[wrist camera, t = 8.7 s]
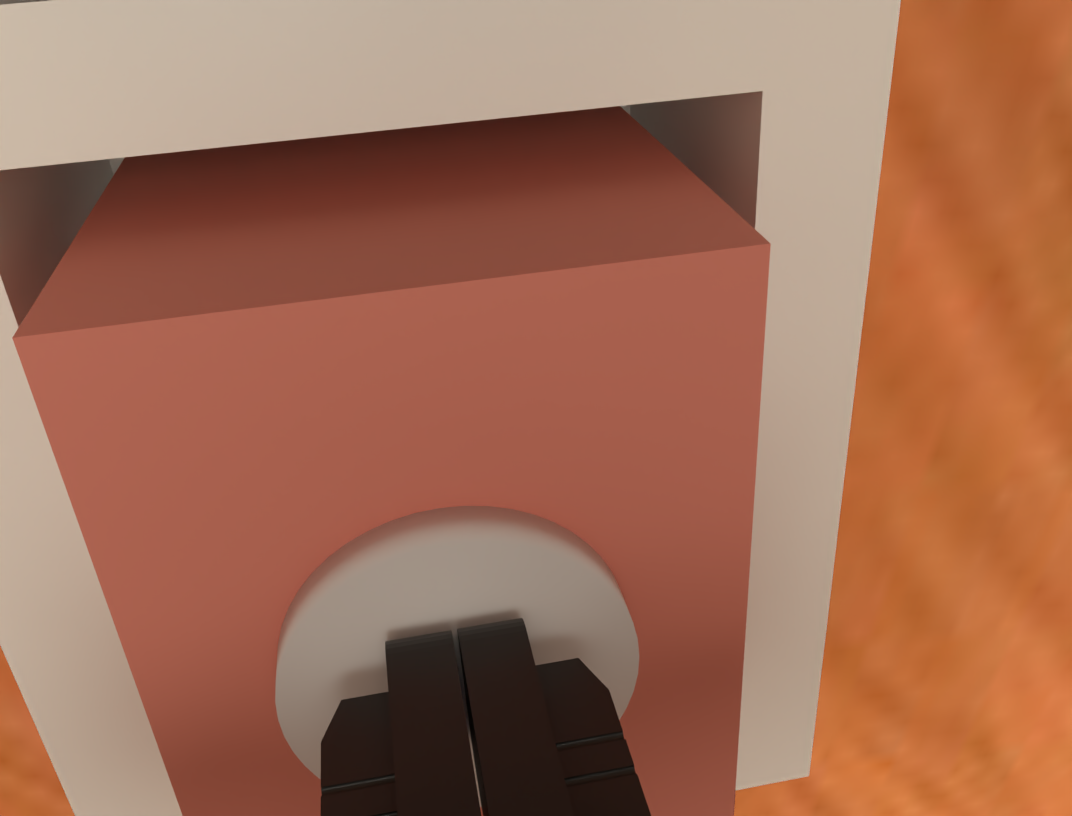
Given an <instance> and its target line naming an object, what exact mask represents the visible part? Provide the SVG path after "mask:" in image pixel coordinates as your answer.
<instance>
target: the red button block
mask: <svg viewBox="0 0 1072 816" xmlns="http://www.w3.org/2000/svg"><path fill="white" fill-rule="evenodd" d="M770 246H771V243H769V242H768V241H767V240H766V239H765V238H764V237H763V236H762V235H761V234H760V233H759V232H757V231H756V230H755V229H754V228H753V227H752V226H751V225H750V224H749V223H748V222H747V221H745V220H744V219H743V218H742V217H741V216H740V215H739V214H738V213H737V212H736V211H734V210H733V209H732V208H731V207H730V206H729V205H728V204H727V203H726V202H725V201H724V200H722V199H721V198H720V197H719V196H718V195H717V194H716V193H715V192H714V191H713V190H711V189H710V188H709V187H708V186H707V185H706V184H705V183H704V182H703V181H702V180H701V179H699V178H698V177H697V176H696V175H695V174H694V173H693V172H692V171H691V170H690V169H688V168H687V167H686V166H685V165H684V164H683V163H682V162H681V161H680V160H679V159H678V158H676V157H675V156H674V155H673V154H672V153H671V152H670V151H669V150H668V149H667V148H666V147H664V146H663V145H662V144H661V143H660V142H659V141H658V140H657V139H656V138H655V137H653V136H652V135H651V134H650V133H649V132H648V131H647V130H646V129H645V128H644V127H643V126H641V125H640V124H639V123H638V122H637V121H636V120H635V119H634V118H633V117H632V116H630V115H629V114H628V113H627V112H626V111H625V110H624V109H623V108H622V107H621V106H614V107H604V108H595V109H585V110H576V111H566V112H556V113H547V114H537V115H527V116H518V117H508V118H498V119H489V120H479V121H470V122H460V123H450V124H441V125H431V126H421V127H412V128H402V129H393V130H383V131H373V132H364V133H354V134H344V135H335V136H325V137H315V138H306V139H296V140H287V141H277V142H267V143H258V144H248V145H238V146H229V147H219V148H210V149H200V150H190V151H181V152H171V153H161V154H152V155H142V156H133V157H125V158H124V159H123V161H122V163H121V164H120V166H119V168H118V169H117V171H116V172H115V174H114V176H113V177H112V179H111V180H110V182H109V184H108V185H107V187H106V188H105V190H104V192H103V193H102V195H101V196H100V198H99V200H98V201H97V203H96V204H95V206H94V208H93V209H92V211H91V212H90V214H89V216H88V217H87V219H86V220H85V222H84V224H83V225H82V227H81V228H80V230H79V232H78V233H77V235H76V236H75V238H74V240H73V241H72V243H71V244H70V246H69V248H68V249H67V251H66V252H65V254H64V256H63V257H62V259H61V260H60V262H59V264H58V265H57V267H56V268H55V270H54V272H53V273H52V275H51V276H50V278H49V280H48V281H47V283H46V285H45V286H44V288H43V289H42V291H41V293H40V294H39V296H38V297H37V299H36V301H35V302H34V304H33V305H32V307H31V309H30V310H29V312H28V313H27V315H26V317H25V318H24V320H23V321H22V323H21V325H20V326H19V328H18V329H17V331H16V333H15V334H14V336H13V337H12V339H13V341H14V344H15V347H16V350H17V353H18V355H19V358H20V361H21V364H22V367H23V369H24V372H25V375H26V378H27V381H28V384H29V386H30V389H31V392H32V395H33V398H34V400H35V403H36V406H37V409H38V412H39V414H40V417H41V420H42V423H43V426H44V428H45V431H46V434H47V437H48V440H49V442H50V445H51V448H52V451H53V454H54V456H55V459H56V462H57V465H58V468H59V470H60V473H61V476H62V479H63V482H64V484H65V487H66V490H67V493H68V496H69V498H70V501H71V504H72V507H73V510H74V512H75V515H76V518H77V521H78V524H79V527H80V529H81V532H82V535H83V538H84V541H85V543H86V546H87V549H88V552H89V555H90V557H91V560H92V563H93V566H94V569H95V571H96V574H97V577H98V580H99V583H100V585H101V588H102V591H103V594H104V597H105V599H106V602H107V605H108V608H109V611H110V613H111V616H112V619H113V622H114V625H115V627H116V630H117V633H118V636H119V639H120V641H121V644H122V647H123V650H124V653H125V656H126V658H127V661H128V664H129V667H130V670H131V672H132V675H133V678H134V681H135V684H136V686H137V689H138V692H139V695H140V698H141V700H142V703H143V706H144V709H145V712H146V714H147V717H148V720H149V723H150V726H151V728H152V731H153V734H154V737H155V740H156V742H157V745H158V748H159V751H160V754H161V756H162V759H163V762H164V765H165V768H166V770H167V773H168V776H169V779H170V782H171V785H172V787H173V790H174V793H175V796H176V799H177V801H178V804H179V807H180V810H181V813H182V815H183V816H321V796H322V793H321V741H322V739H323V737H324V735H325V733H326V730H327V728H328V726H329V724H330V722H331V720H332V718H333V716H334V714H335V712H336V710H337V708H338V706H339V703H340V701H341V700H343V699H349V698H355V697H360V696H366V695H372V694H377V693H383V692H388V680H387V667H386V653H385V641H390V640H396V639H402V638H407V637H413V636H419V635H425V634H431V633H437V632H443V631H449V630H451V631H452V636H453V642H454V648H455V655H456V661H457V667H458V673H459V679H460V686H461V692H462V698H463V704H464V711H465V717H466V723H467V729H468V735H469V742H470V748H471V754H472V760H473V767H474V773H475V779H476V785H477V791H478V798H479V804H480V810H481V816H483V813H482V807H481V801H480V795H479V788H478V782H477V776H476V769H475V763H474V756H473V749H472V742H471V735H470V727H469V719H468V712H467V704H466V696H465V688H464V680H463V673H462V665H461V657H460V649H459V642H458V633H457V629H459V628H465V627H471V626H477V625H482V624H488V623H494V622H500V621H506V620H512V619H518V618H523V620H524V623H525V627H526V630H527V634H528V638H529V642H530V646H531V650H532V654H533V658H534V661H535V665H541V664H546V663H552V662H558V661H563V660H569V659H575V658H579V659H580V660H581V661H582V662H583V663H584V664H585V665H586V666H587V667H588V668H589V669H590V670H591V671H592V673H593V674H594V675H595V676H596V677H597V678H598V679H599V680H600V681H601V682H602V683H603V684H604V685H605V686H606V687H607V688H608V689H609V691H610V694H611V697H612V700H613V703H614V706H615V709H616V712H617V715H618V718H619V721H620V724H621V727H622V730H623V736H624V739H626V742H627V745H628V748H629V751H630V754H631V757H632V760H633V763H634V768H635V772H636V774H637V775H638V778H639V781H640V784H641V787H642V790H643V793H644V796H645V799H646V802H647V805H648V808H649V811H650V813H651V816H734V805H735V789H736V774H737V758H738V743H739V727H740V712H741V696H742V681H743V665H744V650H745V634H746V619H747V603H748V588H749V572H750V557H751V541H752V526H753V510H754V495H755V479H756V464H757V448H758V433H759V417H760V402H761V386H762V371H763V355H764V339H765V324H766V308H767V293H768V277H769V262H770Z"/></svg>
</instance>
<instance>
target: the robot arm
mask: <svg viewBox="0 0 1072 816" xmlns="http://www.w3.org/2000/svg"><path fill="white" fill-rule="evenodd" d="M457 633H458V642H459V649H460V657H461V665H462V673H463V680H464V688H465V696H466V704H467V712H468V719H469V727H470V735H471V742H472V749H473V756H474V763H475V769H476V776H477V782H478V788H479V795H480V801H481V807H482V813H483V816H651V813H650V811H649V808H648V805H647V802H646V799H645V796H644V793H643V790H642V787H641V784H640V781H639V778H638V775H637V774H636V772H635V768H634V763H633V760H632V757H631V754H630V751H629V748H628V745H627V742H626V739H624V736H623V730H622V727H621V724H620V721H619V718H618V715H617V712H616V709H615V706H614V703H613V700H612V697H611V694H610V691H609V689H608V688H607V687H606V686H605V685H604V684H603V683H602V682H601V681H600V680H599V679H598V678H597V677H596V676H595V675H594V674H593V673H592V671H591V670H590V669H589V668H588V667H587V666H586V665H585V664H584V663H583V662H582V661H581V660H580V659H579V658H575V659H569V660H563V661H558V662H552V663H546V664H541V665H535V661H534V658H533V654H532V650H531V646H530V642H529V638H528V634H527V630H526V627H525V623H524V620H523V618H518V619H512V620H506V621H500V622H494V623H488V624H482V625H477V626H471V627H465V628H459V629H457ZM385 653H386V667H387V680H388V692H383V693H377V694H372V695H366V696H360V697H355V698H349V699H343V700H341V701H340V703H339V706H338V708H337V710H336V712H335V714H334V716H333V718H332V720H331V722H330V724H329V726H328V728H327V730H326V733H325V735H324V737H323V739H322V741H321V793H322V796H321V816H481V810H480V804H479V798H478V791H477V785H476V779H475V773H474V767H473V760H472V754H471V748H470V742H469V735H468V729H467V723H466V717H465V711H464V704H463V698H462V692H461V686H460V679H459V673H458V667H457V661H456V655H455V648H454V642H453V636H452V631H451V630H449V631H443V632H437V633H431V634H425V635H419V636H413V637H407V638H402V639H396V640H390V641H385Z"/></svg>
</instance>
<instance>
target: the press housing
mask: <svg viewBox="0 0 1072 816" xmlns="http://www.w3.org/2000/svg"><path fill="white" fill-rule="evenodd" d="M900 3H901V0H0V646H1V648H2V650H3V652H4V655H5V657H6V659H7V662H8V664H9V666H10V668H11V671H12V673H13V675H14V677H15V680H16V682H17V684H18V687H19V689H20V691H21V693H22V696H23V698H24V700H25V703H26V705H27V707H28V709H29V712H30V714H31V716H32V719H33V721H34V723H35V725H36V728H37V730H38V732H39V734H40V737H41V739H42V741H43V744H44V746H45V748H46V750H47V753H48V755H49V757H50V760H51V762H52V764H53V766H54V769H55V771H56V773H57V776H58V778H59V780H60V782H61V785H62V787H63V789H64V791H65V794H66V796H67V798H68V801H69V803H70V805H71V807H72V810H73V812H74V814H75V816H183V815H182V813H181V810H180V807H179V804H178V801H177V799H176V796H175V793H174V790H173V787H172V785H171V782H170V779H169V776H168V773H167V770H166V768H165V765H164V762H163V759H162V756H161V754H160V751H159V748H158V745H157V742H156V740H155V737H154V734H153V731H152V728H151V726H150V723H149V720H148V717H147V714H146V712H145V709H144V706H143V703H142V700H141V698H140V695H139V692H138V689H137V686H136V684H135V681H134V678H133V675H132V672H131V670H130V667H129V664H128V661H127V658H126V656H125V653H124V650H123V647H122V644H121V641H120V639H119V636H118V633H117V630H116V627H115V625H114V622H113V619H112V616H111V613H110V611H109V608H108V605H107V602H106V599H105V597H104V594H103V591H102V588H101V585H100V583H99V580H98V577H97V574H96V571H95V569H94V566H93V563H92V560H91V557H90V555H89V552H88V549H87V546H86V543H85V541H84V538H83V535H82V532H81V529H80V527H79V524H78V521H77V518H76V515H75V512H74V510H73V507H72V504H71V501H70V498H69V496H68V493H67V490H66V487H65V484H64V482H63V479H62V476H61V473H60V470H59V468H58V465H57V462H56V459H55V456H54V454H53V451H52V448H51V445H50V442H49V440H48V437H47V434H46V431H45V428H44V426H43V423H42V420H41V417H40V414H39V412H38V409H37V406H36V403H35V400H34V398H33V395H32V392H31V389H30V386H29V384H28V381H27V378H26V375H25V372H24V369H23V367H22V364H21V361H20V358H19V355H18V353H17V350H16V347H15V344H14V341H13V339H12V337H13V336H14V334H15V333H16V331H17V329H18V328H19V326H20V325H21V323H22V321H23V320H24V318H25V317H26V315H27V313H28V312H29V310H30V309H31V307H32V305H33V304H34V302H35V301H36V299H37V297H38V296H39V294H40V293H41V291H42V289H43V288H44V286H45V285H46V283H47V281H48V280H49V278H50V276H51V275H52V273H53V272H54V270H55V268H56V267H57V265H58V264H59V262H60V260H61V259H62V257H63V256H64V254H65V252H66V251H67V249H68V248H69V246H70V244H71V243H72V241H73V240H74V238H75V236H76V235H77V233H78V232H79V230H80V228H81V227H82V225H83V224H84V222H85V220H86V219H87V217H88V216H89V214H90V212H91V211H92V209H93V208H94V206H95V204H96V203H97V201H98V200H99V198H100V196H101V195H102V193H103V192H104V190H105V188H106V187H107V185H108V184H109V182H110V180H111V179H112V177H113V176H114V174H115V172H116V171H117V169H118V168H119V166H120V164H121V163H122V161H123V159H124V158H125V157H133V156H142V155H152V154H161V153H171V152H181V151H190V150H200V149H210V148H219V147H229V146H238V145H248V144H258V143H267V142H277V141H287V140H296V139H306V138H315V137H325V136H335V135H344V134H354V133H364V132H373V131H383V130H393V129H402V128H412V127H421V126H431V125H441V124H450V123H460V122H470V121H479V120H489V119H498V118H508V117H518V116H527V115H537V114H547V113H556V112H566V111H576V110H585V109H595V108H604V107H614V106H621V107H622V108H623V109H624V110H625V111H626V112H627V113H628V114H629V115H630V116H632V117H633V118H634V119H635V120H636V121H637V122H638V123H639V124H640V125H641V126H643V127H644V128H645V129H646V130H647V131H648V132H649V133H650V134H651V135H652V136H653V137H655V138H656V139H657V140H658V141H659V142H660V143H661V144H662V145H663V146H664V147H666V148H667V149H668V150H669V151H670V152H671V153H672V154H673V155H674V156H675V157H676V158H678V159H679V160H680V161H681V162H682V163H683V164H684V165H685V166H686V167H687V168H688V169H690V170H691V171H692V172H693V173H694V174H695V175H696V176H697V177H698V178H699V179H701V180H702V181H703V182H704V183H705V184H706V185H707V186H708V187H709V188H710V189H711V190H713V191H714V192H715V193H716V194H717V195H718V196H719V197H720V198H721V199H722V200H724V201H725V202H726V203H727V204H728V205H729V206H730V207H731V208H732V209H733V210H734V211H736V212H737V213H738V214H739V215H740V216H741V217H742V218H743V219H744V220H745V221H747V222H748V223H749V224H750V225H751V226H752V227H753V228H754V229H755V230H756V231H757V232H759V233H760V234H761V235H762V236H763V237H764V238H765V239H766V240H767V241H768V242H769V243H771V246H770V262H769V277H768V293H767V308H766V324H765V339H764V355H763V371H762V386H761V402H760V417H759V433H758V448H757V464H756V479H755V495H754V510H753V526H752V541H751V557H750V572H749V588H748V603H747V619H746V634H745V650H744V665H743V681H742V696H741V712H740V727H739V743H738V758H737V774H736V789H735V790H741V789H746V788H751V787H756V786H761V785H766V784H771V783H776V782H781V781H786V780H792V779H797V778H802V777H807V776H809V772H810V764H811V755H812V747H813V738H814V730H815V721H816V713H817V705H818V696H819V688H820V679H821V671H822V662H823V654H824V645H825V637H826V629H827V620H828V612H829V603H830V595H831V586H832V578H833V569H834V561H835V552H836V544H837V536H838V527H839V519H840V510H841V502H842V493H843V485H844V476H845V468H846V460H847V451H848V443H849V434H850V426H851V417H852V409H853V400H854V392H855V383H856V375H857V367H858V358H859V350H860V341H861V333H862V324H863V316H864V307H865V299H866V290H867V282H868V274H869V265H870V257H871V248H872V240H873V231H874V223H875V214H876V206H877V198H878V189H879V181H880V172H881V164H882V155H883V147H884V138H885V130H886V121H887V113H888V105H889V96H890V88H891V79H892V71H893V62H894V54H895V45H896V37H897V29H898V20H899V12H900Z"/></svg>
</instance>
